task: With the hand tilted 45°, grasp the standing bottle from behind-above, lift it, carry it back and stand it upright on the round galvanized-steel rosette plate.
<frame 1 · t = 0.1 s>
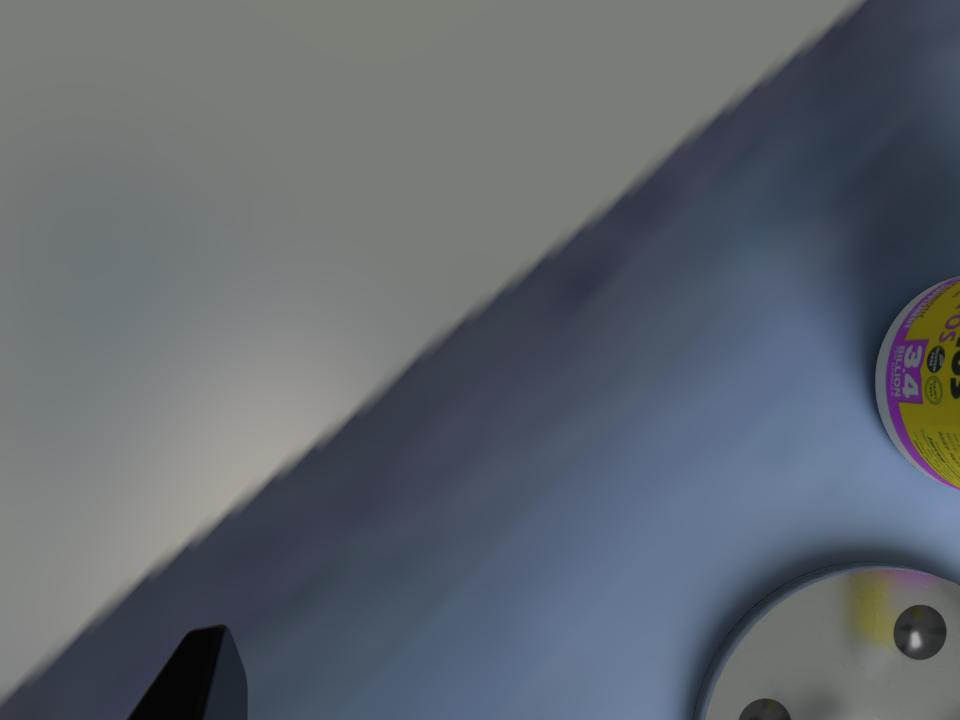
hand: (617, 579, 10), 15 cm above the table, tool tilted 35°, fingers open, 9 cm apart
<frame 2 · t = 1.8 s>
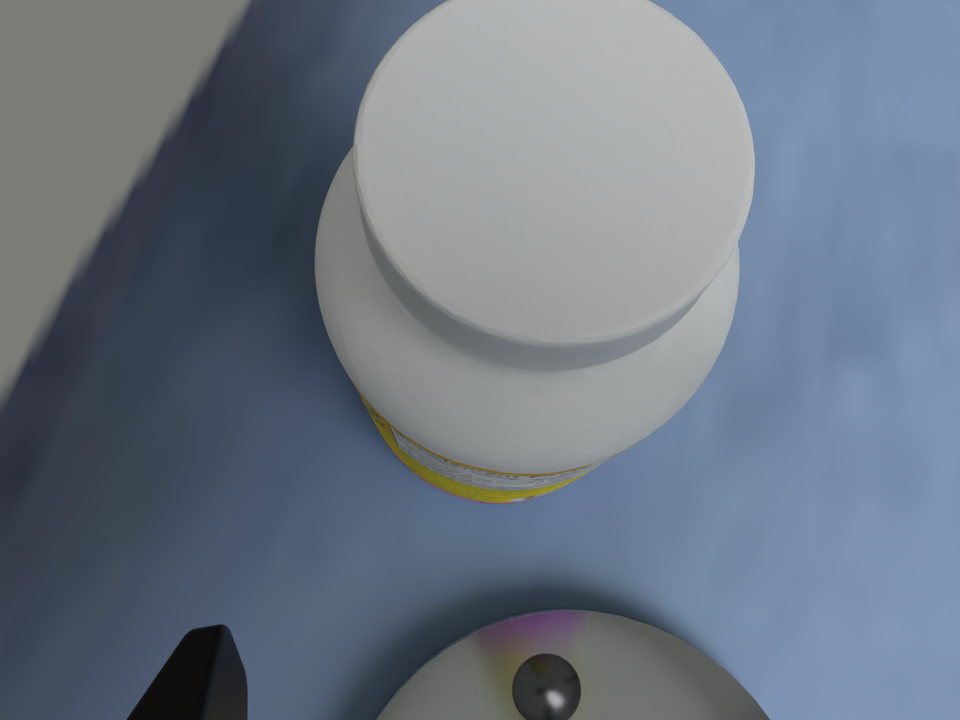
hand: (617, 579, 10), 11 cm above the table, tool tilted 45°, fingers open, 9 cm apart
supplement bottle: (493, 382, 22), on the table
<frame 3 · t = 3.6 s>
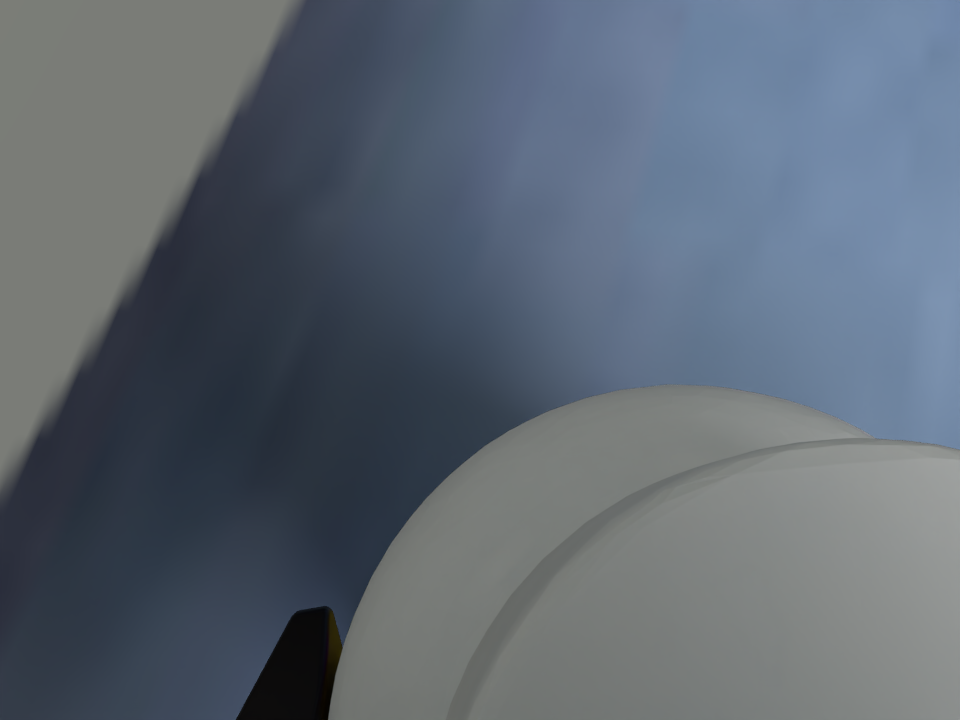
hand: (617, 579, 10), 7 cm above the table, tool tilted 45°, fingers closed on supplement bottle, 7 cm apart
supplement bottle: (558, 640, 17), on the table, touching gripper
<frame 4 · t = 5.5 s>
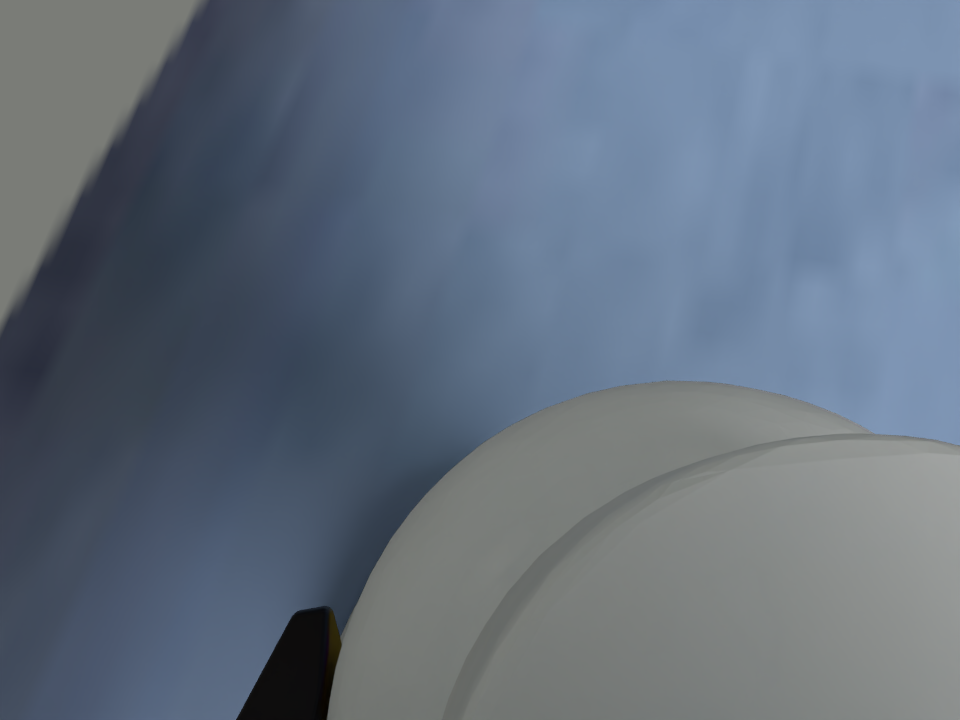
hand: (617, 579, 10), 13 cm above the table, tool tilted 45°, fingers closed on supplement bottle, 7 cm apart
supplement bottle: (559, 637, 17), point 5 cm above the table, touching gripper
when the fingers open (9 cm above the table, at t = 7.2 s): supplement bottle drops 1 cm, resting on rosette plate.
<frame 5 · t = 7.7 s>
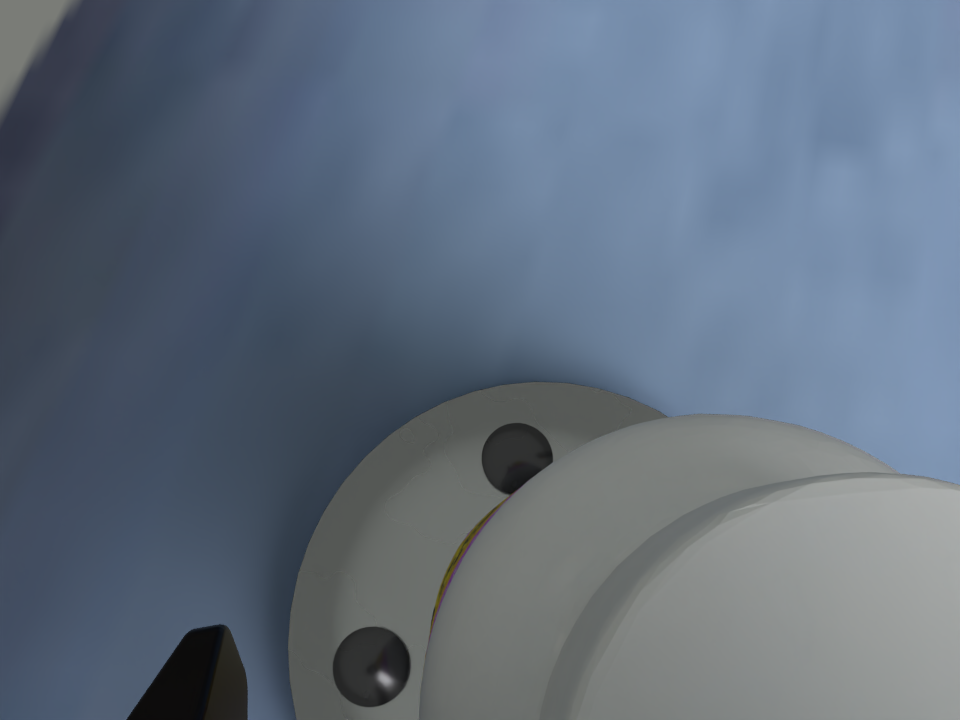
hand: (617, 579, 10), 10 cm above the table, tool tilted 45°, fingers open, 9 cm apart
supplement bottle: (584, 635, 18), point 1 cm above the table, touching rosette plate
rosette plate: (542, 630, 19), on the table
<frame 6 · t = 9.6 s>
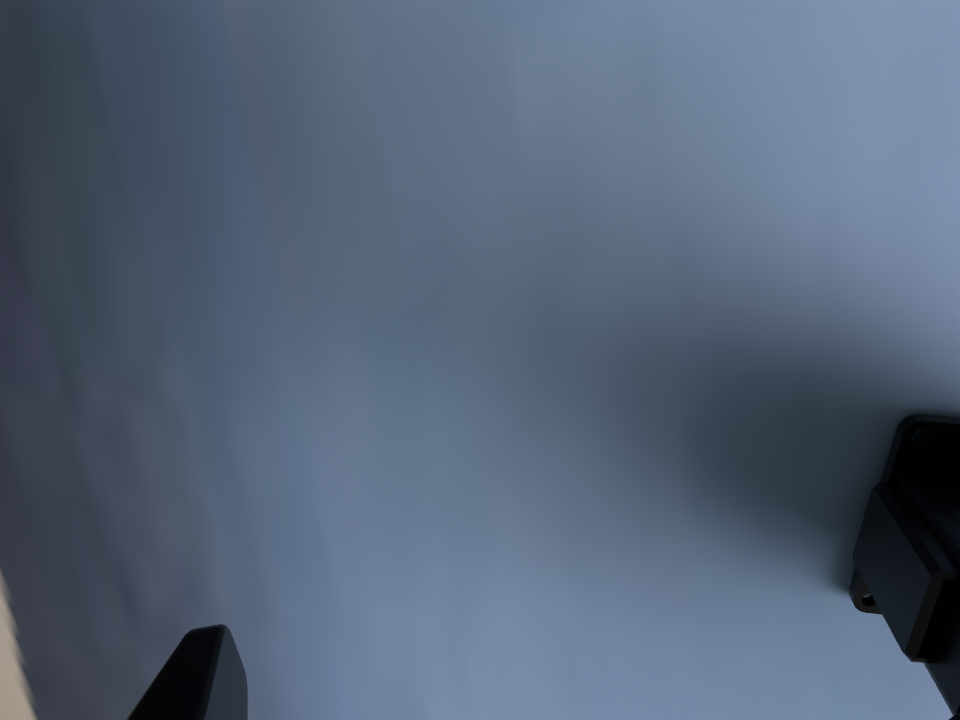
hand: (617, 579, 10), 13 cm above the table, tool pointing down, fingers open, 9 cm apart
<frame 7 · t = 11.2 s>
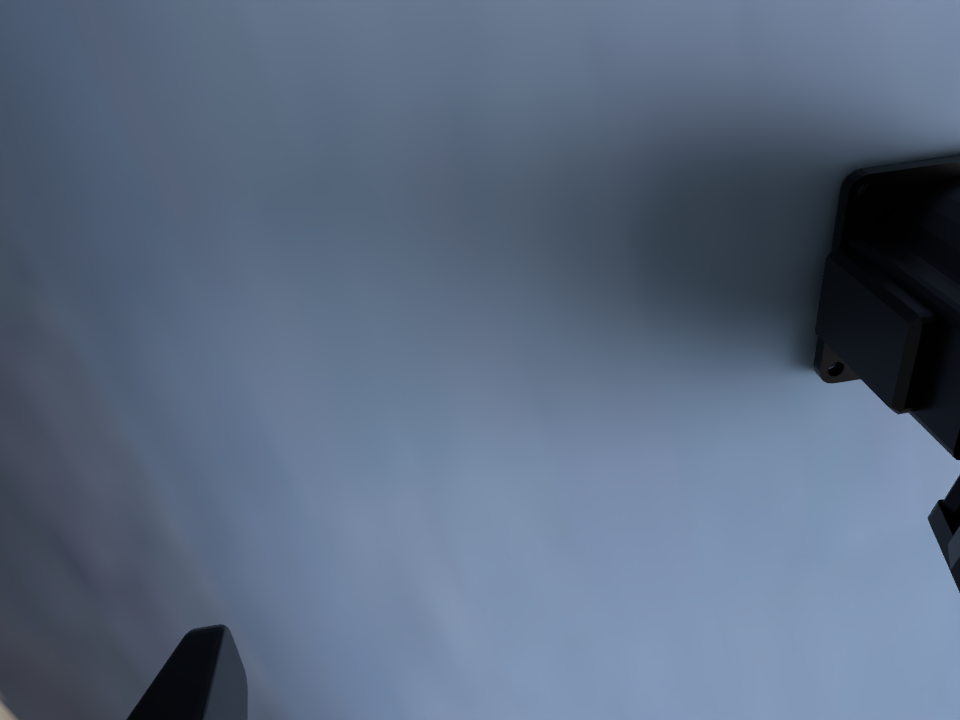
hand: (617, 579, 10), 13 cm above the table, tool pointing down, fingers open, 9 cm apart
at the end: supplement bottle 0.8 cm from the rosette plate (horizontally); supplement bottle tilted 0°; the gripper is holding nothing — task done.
